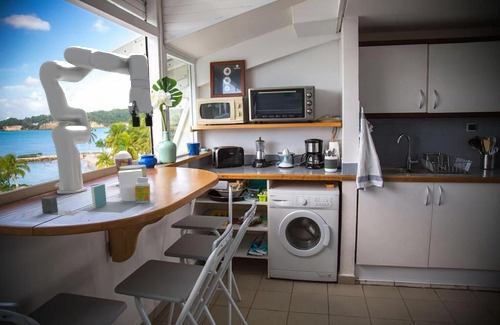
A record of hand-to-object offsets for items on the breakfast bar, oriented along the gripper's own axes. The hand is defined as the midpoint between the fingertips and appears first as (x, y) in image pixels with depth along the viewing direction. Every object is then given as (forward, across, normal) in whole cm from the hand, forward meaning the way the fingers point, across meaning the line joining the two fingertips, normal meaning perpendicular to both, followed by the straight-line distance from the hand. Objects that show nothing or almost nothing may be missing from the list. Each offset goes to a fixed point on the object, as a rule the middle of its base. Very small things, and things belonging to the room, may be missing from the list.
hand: (143, 126), depth 135 cm
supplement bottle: (+29, +14, +6) cm, 33 cm away
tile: (+29, +22, -7) cm, 37 cm away
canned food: (+30, -4, -9) cm, 31 cm away
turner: (+30, +31, -16) cm, 45 cm away
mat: (+30, +22, -2) cm, 37 cm away
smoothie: (+30, -24, -28) cm, 47 cm away
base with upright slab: (+30, +9, -2) cm, 31 cm away
